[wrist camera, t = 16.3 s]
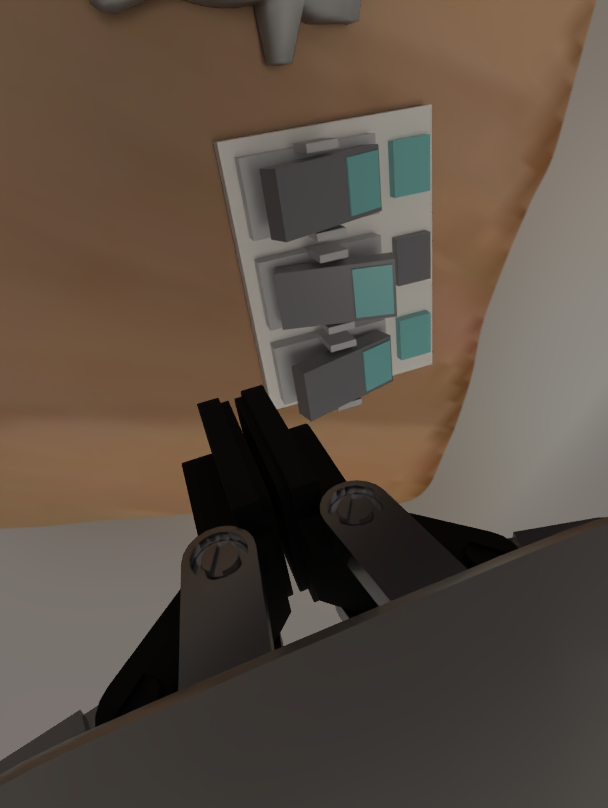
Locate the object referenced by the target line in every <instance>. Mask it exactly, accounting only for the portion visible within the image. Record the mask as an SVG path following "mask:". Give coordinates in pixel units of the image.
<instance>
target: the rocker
mask: <svg viewBox="0 0 608 808" xmlns="http://www.w3.org/2000/svg"><path fill="white" fill-rule="evenodd" d="M356 343H357V345H356V346H353V347H349V348H345V349H342V350H338V351H335V352H331V351H330V350H329V351H326V352H324V353H322V354H320V355H317V356H315V357H313V358H310V359H308V360H306V361H303V362H301V363H299V364H296V365H294V366H292V372H293V378H294V384H295V390H296V395H297V401H298V407H299V413H300V414H302V415H303V416H304V417H306V418H307V419H309V420H310V421H313V420H315V419H317V418H319V417H321V416H323V415H325V414H327V413H329V412H331V411H333V410H335V409H337V408H339V407H341V406H343V405H345V404H347V403H349V402H351V401H353V400H355V399H357V398H359V397H361V396H363V395H365V394H367V393H369V392H371V391H373V390H375V389H377V388H379V387H382V386H384V385H386V384H388V383H390V382H392V381H393V376H392V356H391V336H390V335H388V334H386V333H383V332H381V331H378V330H375V331H373V332H370V333H368V334H366V335H363V336H361V337H359V338H357V339H356Z"/></svg>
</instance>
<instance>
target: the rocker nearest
mask: <svg viewBox="0 0 608 808" xmlns="http://www.w3.org/2000/svg"><path fill="white" fill-rule="evenodd" d="M259 171H260V176H261V182H262V188H263V194H264V200H265V206H266V212H267V217H268V223H269V229H270V235H271V240H276V241H281V242H289V241H292V240H295V239H298V238H301V237H305V236H308V235H311V234H314V233H317V232H320V231H323V230H326V229H329V228H332V227H335V226H338V225H341V224H344V223H347V222H350V221H353V220H356V219H359V218H362V217H365V216H368V215H371V214H374V213H377V212H380V211H382V204H381V185H380V166H379V147H378V144H367V145H358V146H353V147H349V148H345V149H341V150H336V151H332V152H328V153H324V154H320V155H315V156H311V157H307V158H303V159H298V160H294V161H290V162H286V163H281V164H277V165H273V166H269V167H264V168H260V169H259Z"/></svg>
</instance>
